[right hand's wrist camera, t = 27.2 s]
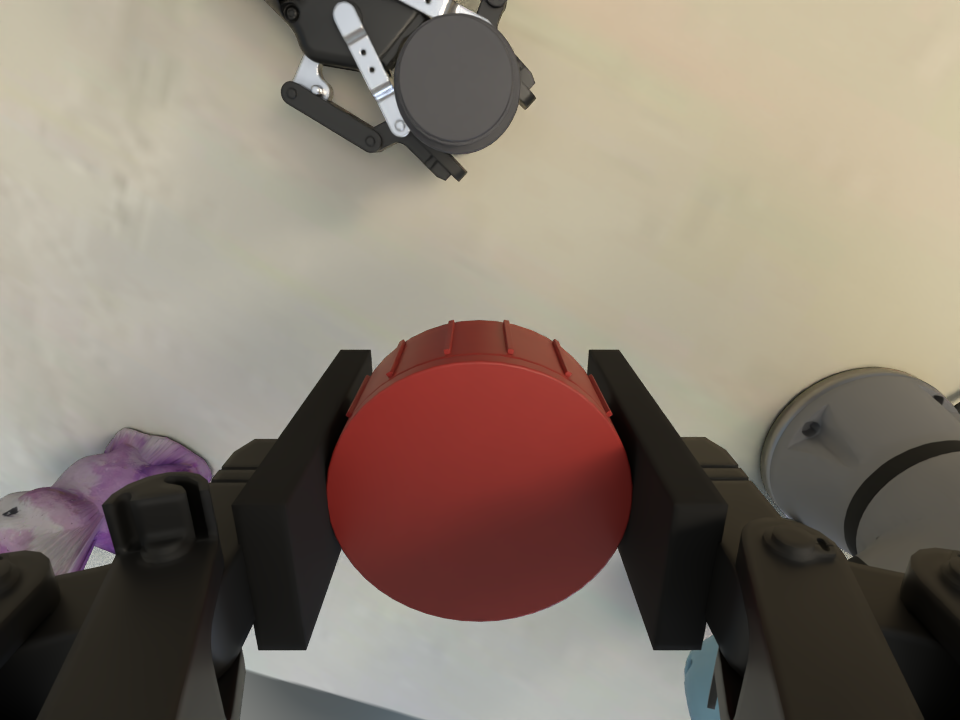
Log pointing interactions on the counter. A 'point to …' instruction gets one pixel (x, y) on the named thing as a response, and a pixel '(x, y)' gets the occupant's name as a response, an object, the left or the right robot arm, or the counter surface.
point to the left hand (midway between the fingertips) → (495, 139)
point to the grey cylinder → (457, 83)
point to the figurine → (87, 499)
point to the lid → (479, 474)
